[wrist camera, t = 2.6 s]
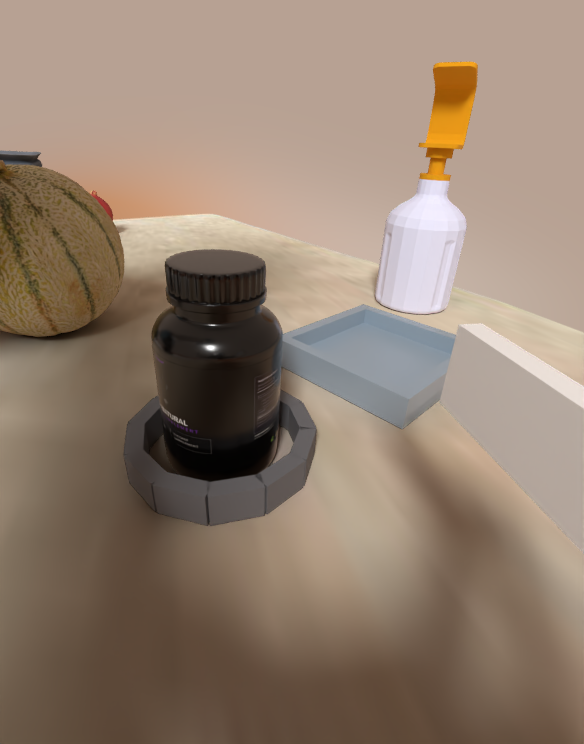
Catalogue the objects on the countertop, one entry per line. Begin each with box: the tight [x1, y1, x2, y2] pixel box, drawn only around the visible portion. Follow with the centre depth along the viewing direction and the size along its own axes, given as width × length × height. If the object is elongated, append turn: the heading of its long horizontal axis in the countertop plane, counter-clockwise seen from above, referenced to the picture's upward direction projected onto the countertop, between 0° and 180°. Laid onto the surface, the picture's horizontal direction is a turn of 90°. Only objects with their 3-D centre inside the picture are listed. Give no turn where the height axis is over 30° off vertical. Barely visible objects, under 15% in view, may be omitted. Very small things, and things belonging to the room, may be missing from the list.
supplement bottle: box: [152, 249, 283, 482], centre depth 22 cm, size 7×7×12 cm
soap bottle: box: [375, 62, 478, 314], centre depth 46 cm, size 9×9×25 cm
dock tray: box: [281, 304, 456, 429], centre depth 36 cm, size 13×13×2 cm
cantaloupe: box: [0, 160, 124, 337], centre depth 36 cm, size 15×15×15 cm
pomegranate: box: [89, 190, 113, 221], centre depth 77 cm, size 6×6×8 cm
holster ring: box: [124, 389, 317, 526], centre depth 25 cm, size 11×11×2 cm
